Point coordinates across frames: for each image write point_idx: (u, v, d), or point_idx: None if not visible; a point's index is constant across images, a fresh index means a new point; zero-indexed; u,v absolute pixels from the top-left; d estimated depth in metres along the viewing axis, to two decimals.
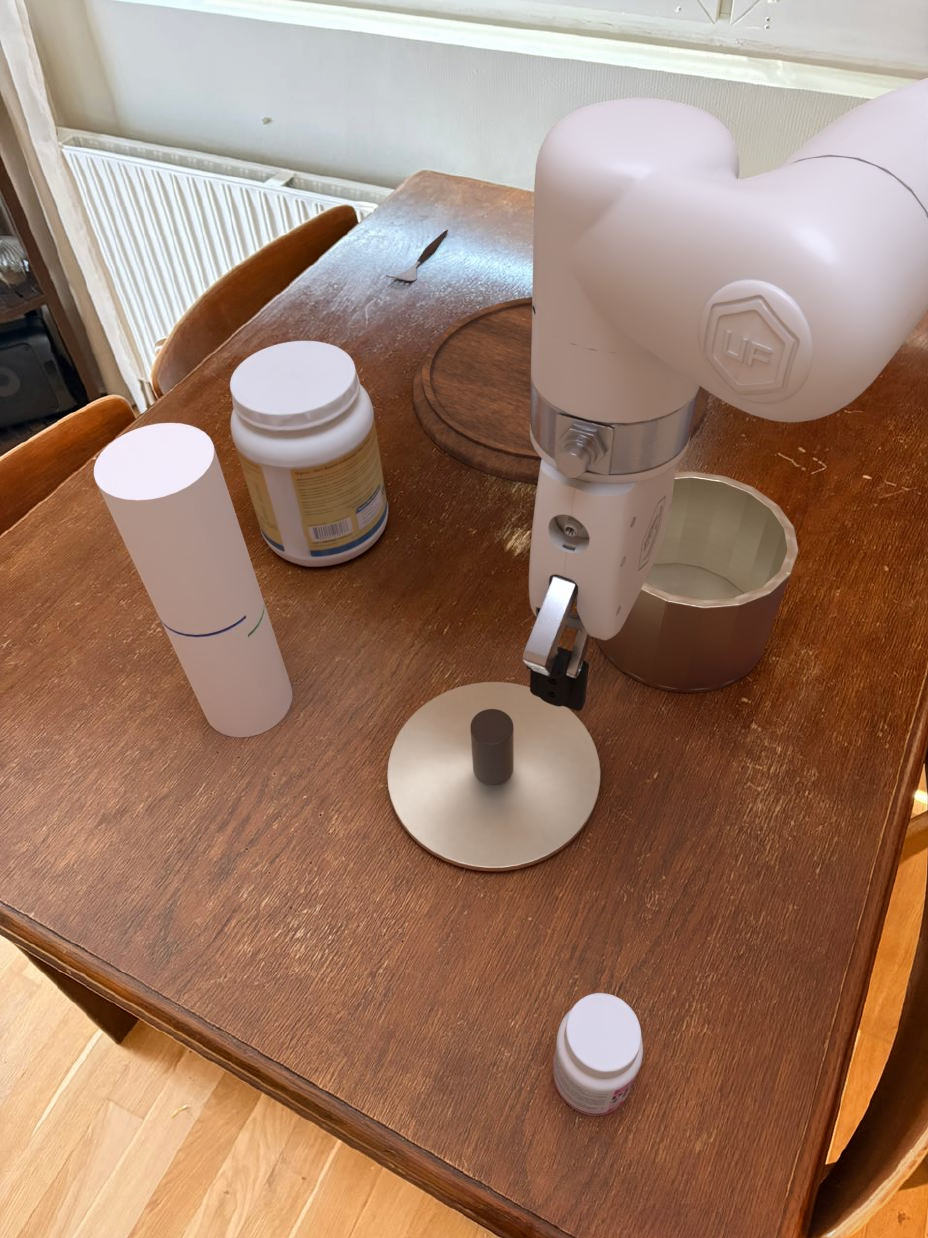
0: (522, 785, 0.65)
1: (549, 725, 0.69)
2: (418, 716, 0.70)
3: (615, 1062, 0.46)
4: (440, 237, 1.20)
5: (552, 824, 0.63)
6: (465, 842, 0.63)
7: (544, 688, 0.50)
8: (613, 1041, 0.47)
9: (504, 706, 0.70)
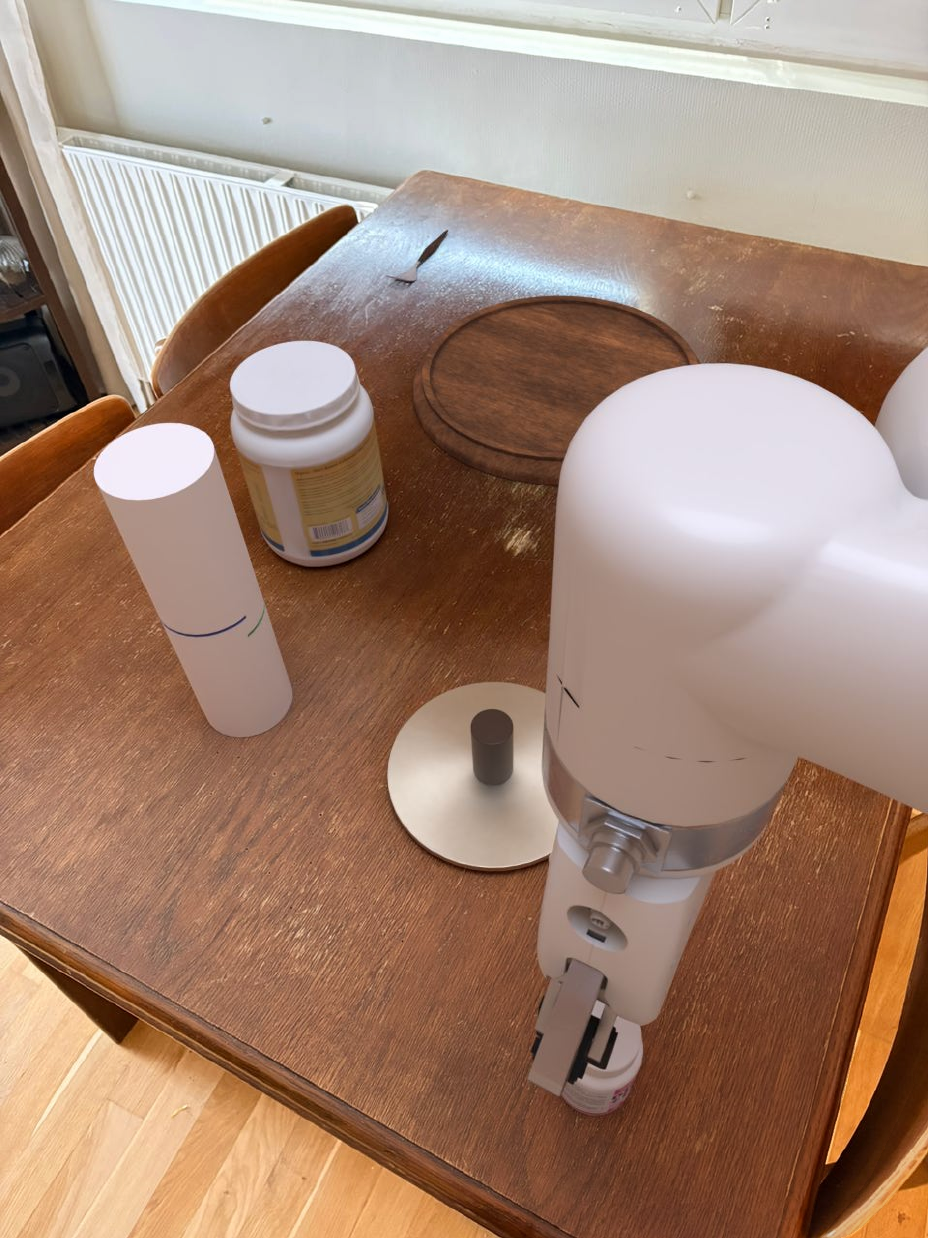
0: (522, 785, 0.65)
1: None
2: (418, 716, 0.70)
3: (615, 1062, 0.46)
4: (440, 237, 1.20)
5: (552, 824, 0.63)
6: (465, 842, 0.63)
7: None
8: None
9: (504, 706, 0.70)
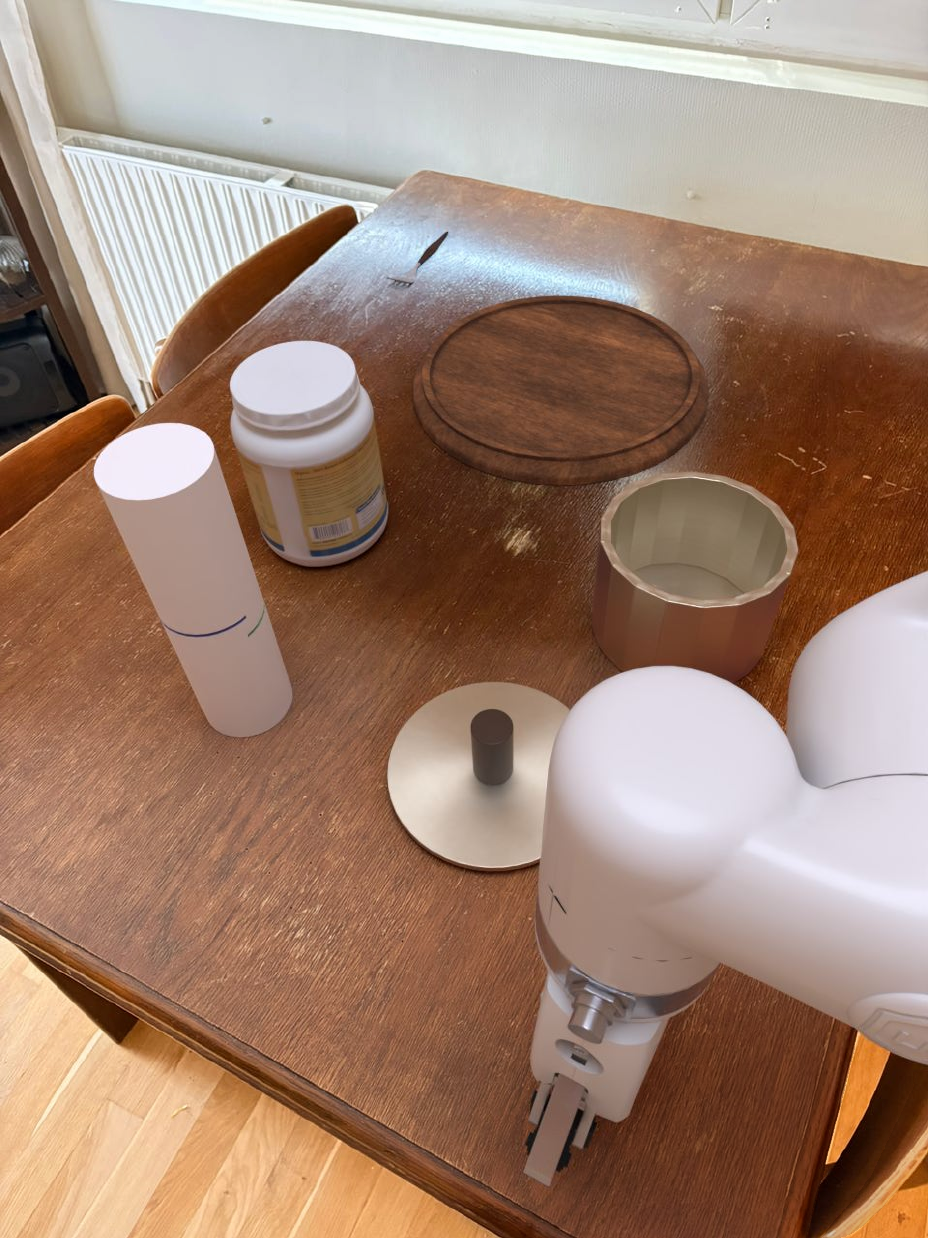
0: (522, 785, 0.65)
1: (549, 725, 0.69)
2: (418, 716, 0.70)
3: None
4: (440, 239, 1.20)
5: None
6: (465, 842, 0.63)
7: None
8: None
9: (504, 706, 0.70)
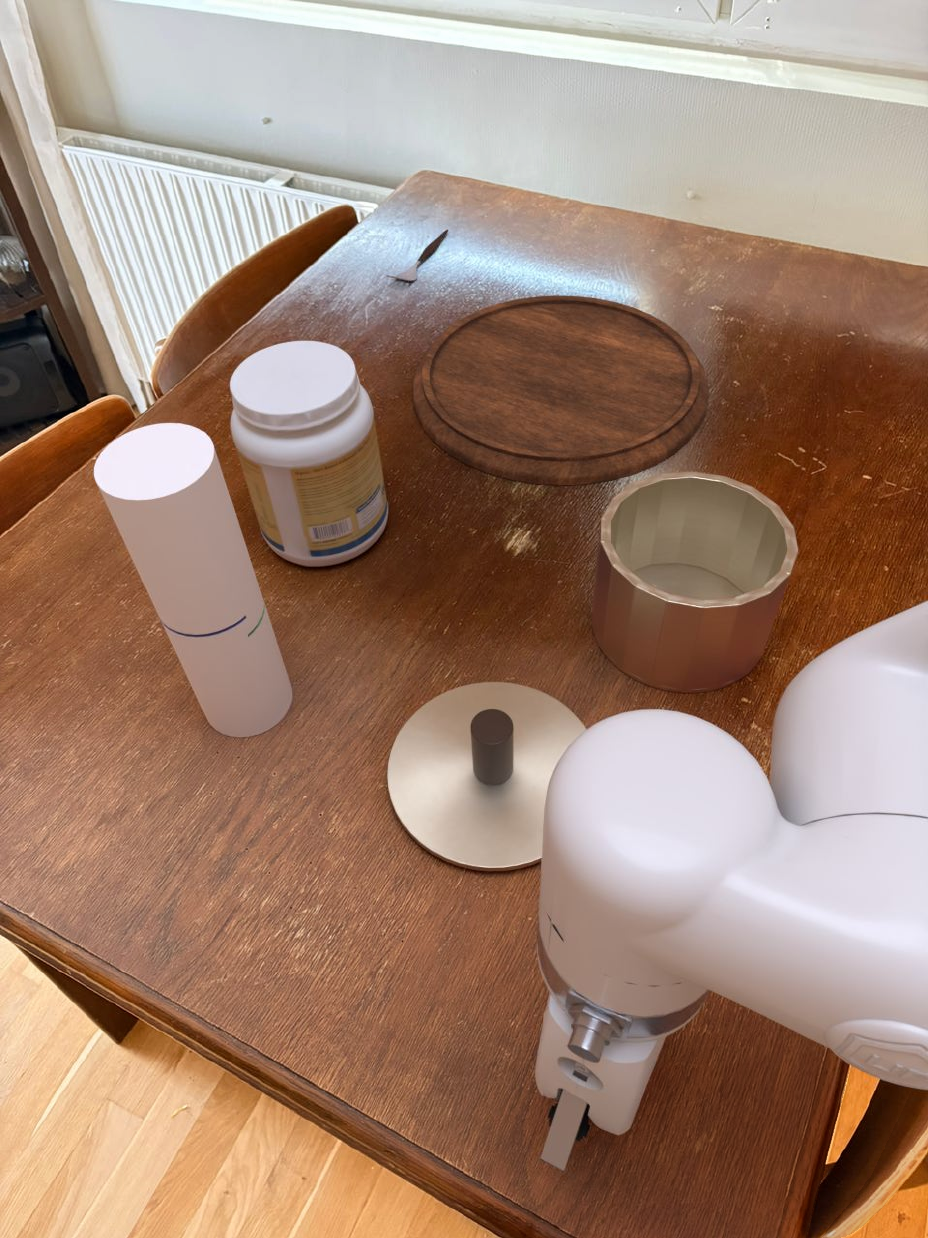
0: (522, 785, 0.65)
1: (549, 725, 0.69)
2: (418, 716, 0.70)
3: None
4: (440, 237, 1.20)
5: None
6: (465, 842, 0.63)
7: None
8: None
9: (504, 706, 0.70)
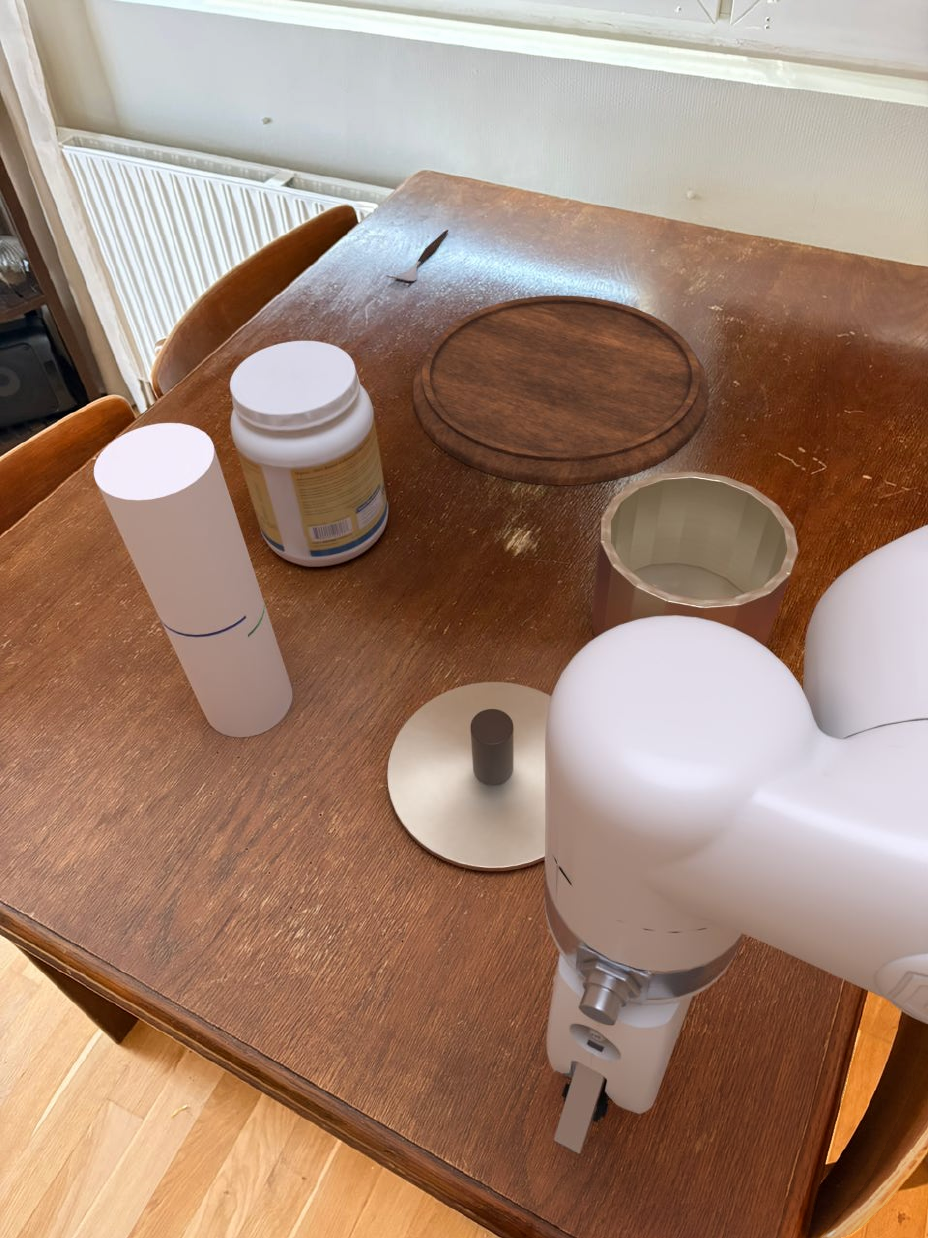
0: (522, 785, 0.65)
1: None
2: (418, 716, 0.70)
3: None
4: (440, 237, 1.20)
5: None
6: (465, 842, 0.63)
7: None
8: None
9: (504, 706, 0.70)
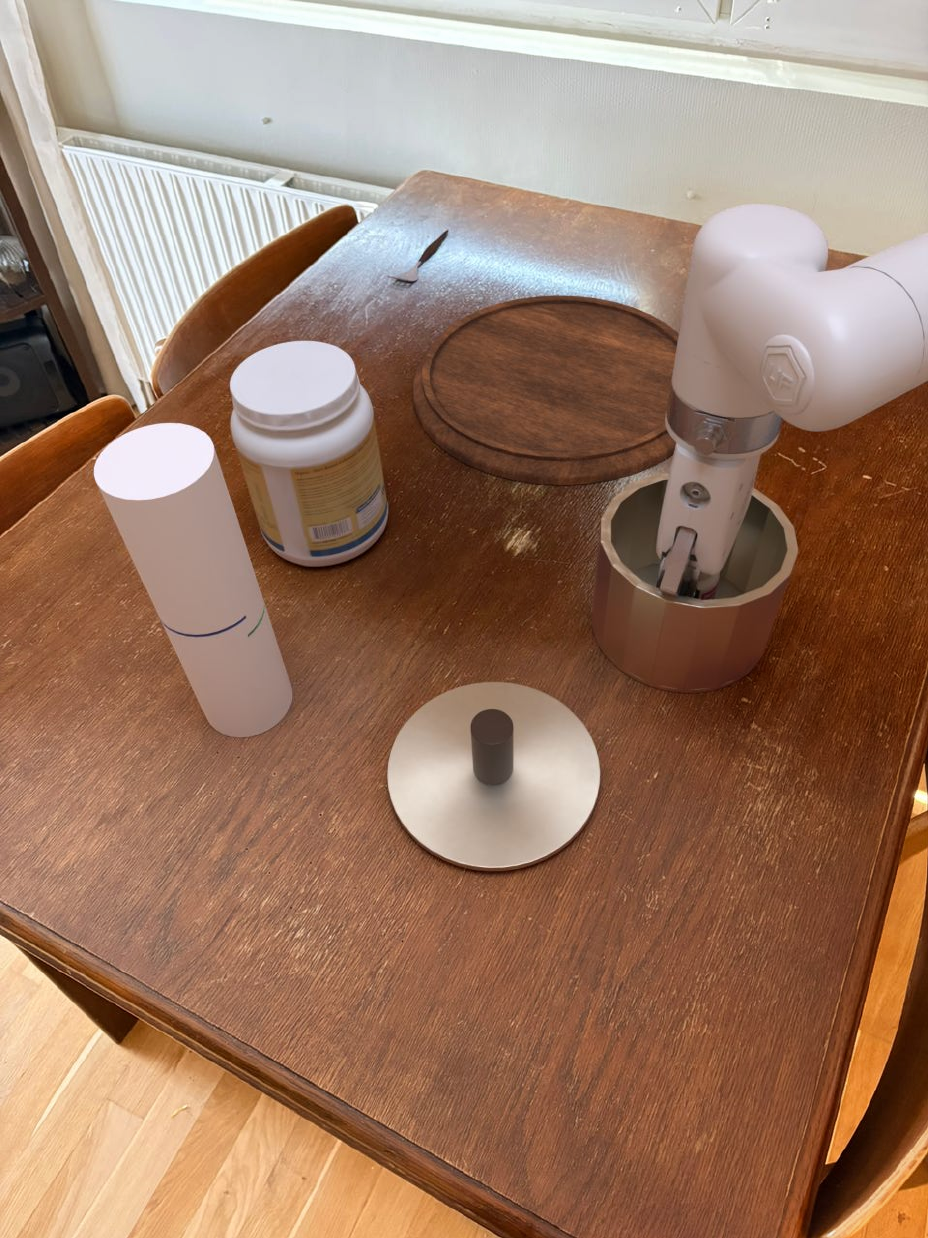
0: (522, 785, 0.65)
1: (549, 725, 0.69)
2: (418, 716, 0.70)
3: None
4: (441, 237, 1.20)
5: (552, 824, 0.63)
6: (465, 842, 0.63)
7: None
8: None
9: (504, 706, 0.70)
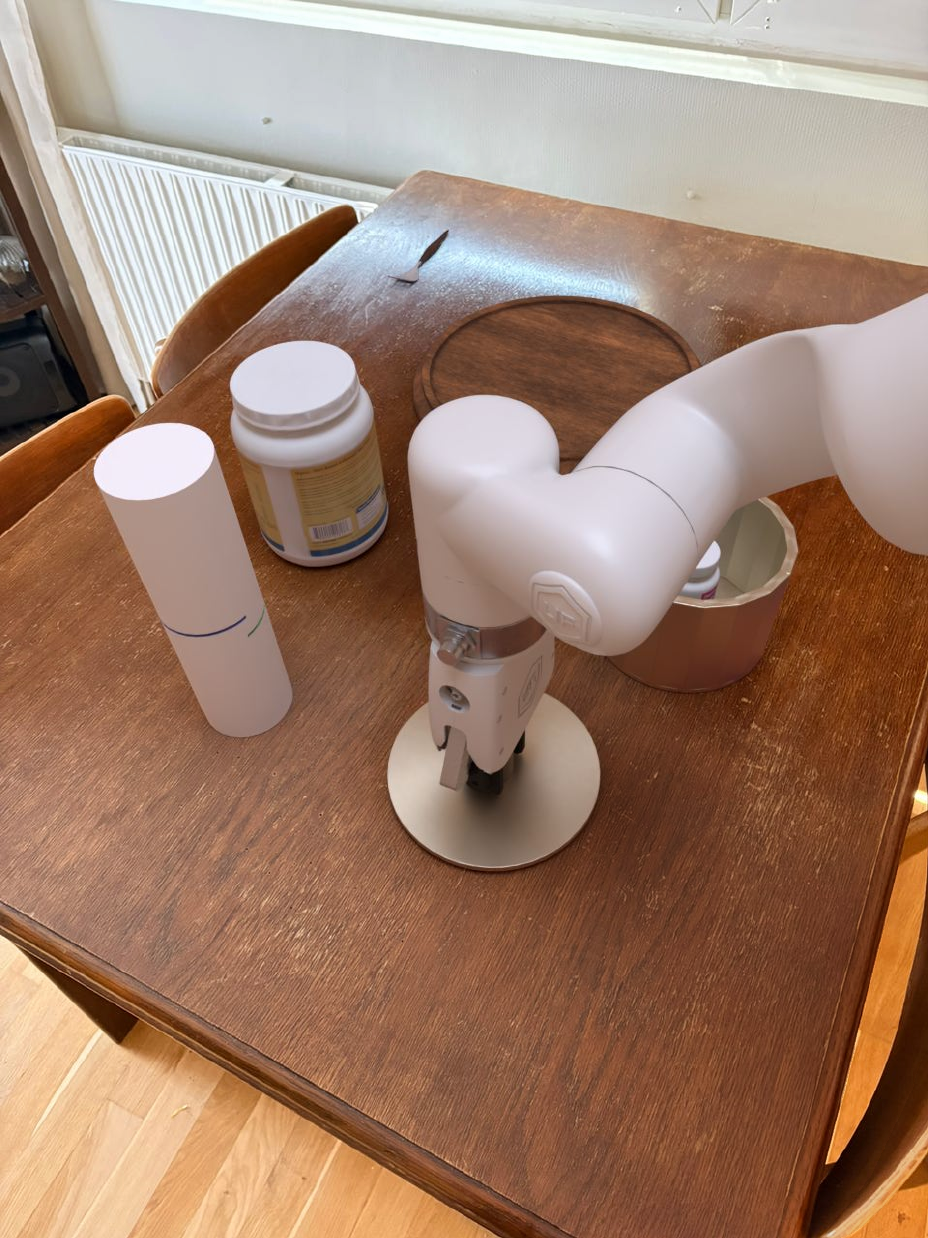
0: (522, 785, 0.65)
1: (549, 725, 0.69)
2: (418, 716, 0.70)
3: (704, 563, 0.68)
4: (441, 237, 1.20)
5: (552, 824, 0.63)
6: (465, 842, 0.63)
7: (469, 778, 0.63)
8: None
9: None
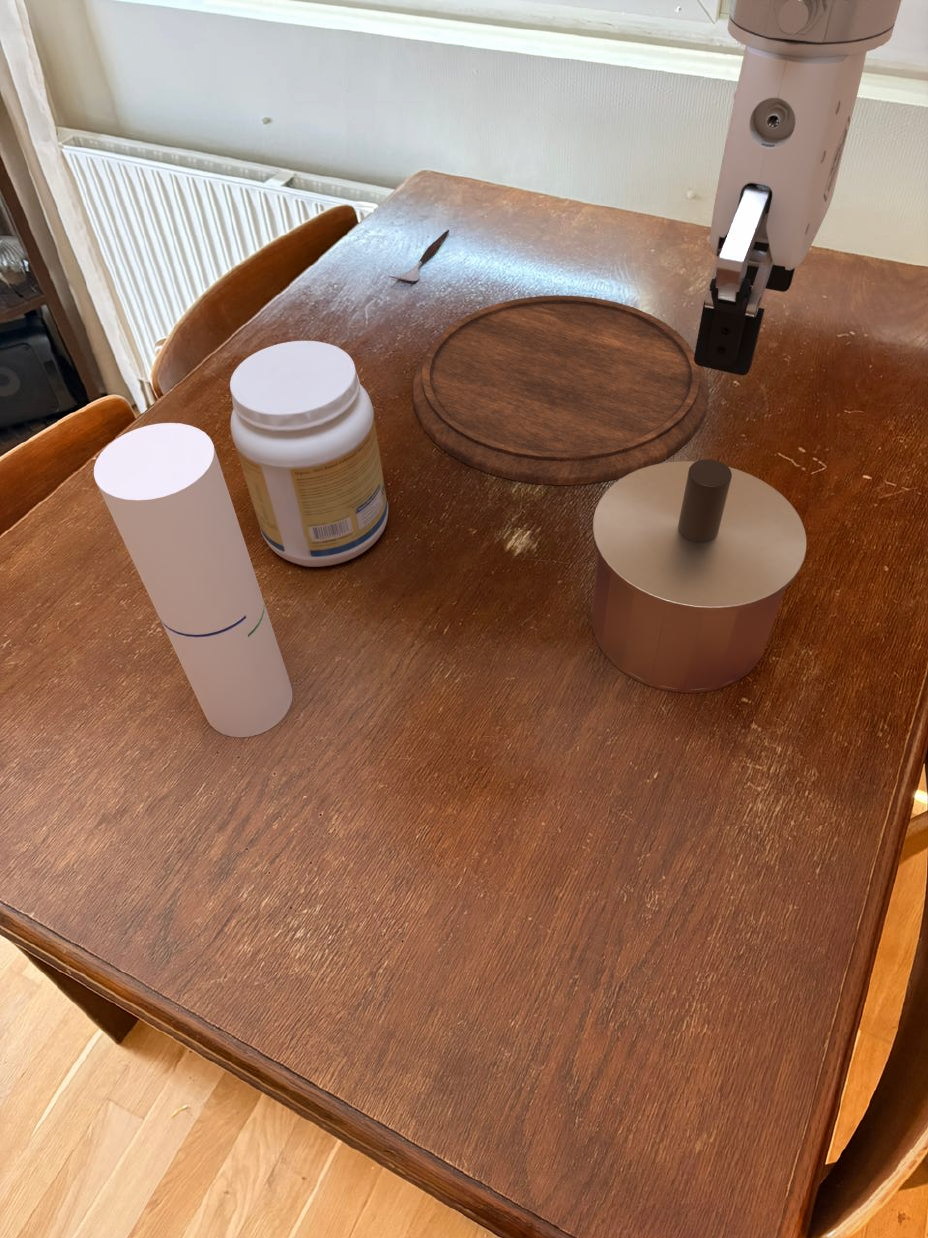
0: (730, 542, 0.67)
1: (746, 494, 0.70)
2: (615, 489, 0.71)
3: None
4: (441, 237, 1.20)
5: (766, 572, 0.64)
6: (682, 587, 0.64)
7: (715, 342, 0.50)
8: None
9: None
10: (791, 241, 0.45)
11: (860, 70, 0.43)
